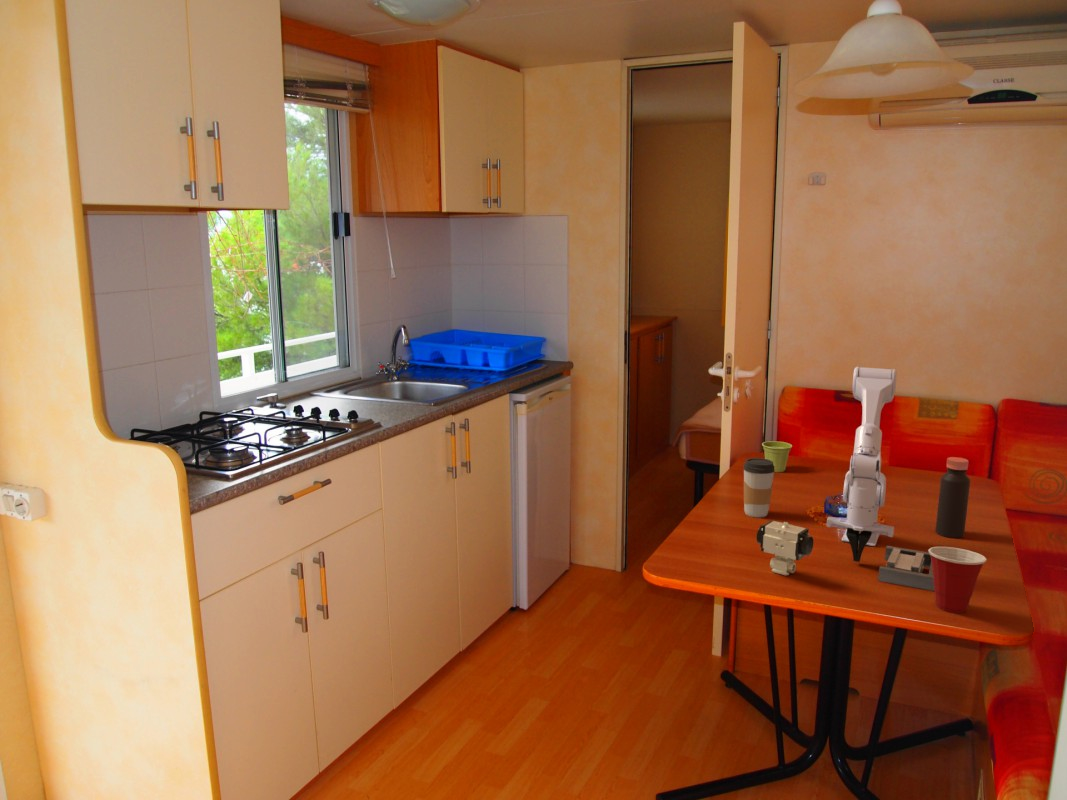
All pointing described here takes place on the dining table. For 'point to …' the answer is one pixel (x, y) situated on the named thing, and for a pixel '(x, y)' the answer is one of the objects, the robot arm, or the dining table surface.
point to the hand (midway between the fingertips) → (856, 560)
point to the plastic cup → (954, 576)
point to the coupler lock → (906, 561)
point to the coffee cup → (757, 486)
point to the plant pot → (777, 454)
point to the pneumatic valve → (784, 545)
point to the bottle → (953, 499)
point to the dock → (907, 572)
